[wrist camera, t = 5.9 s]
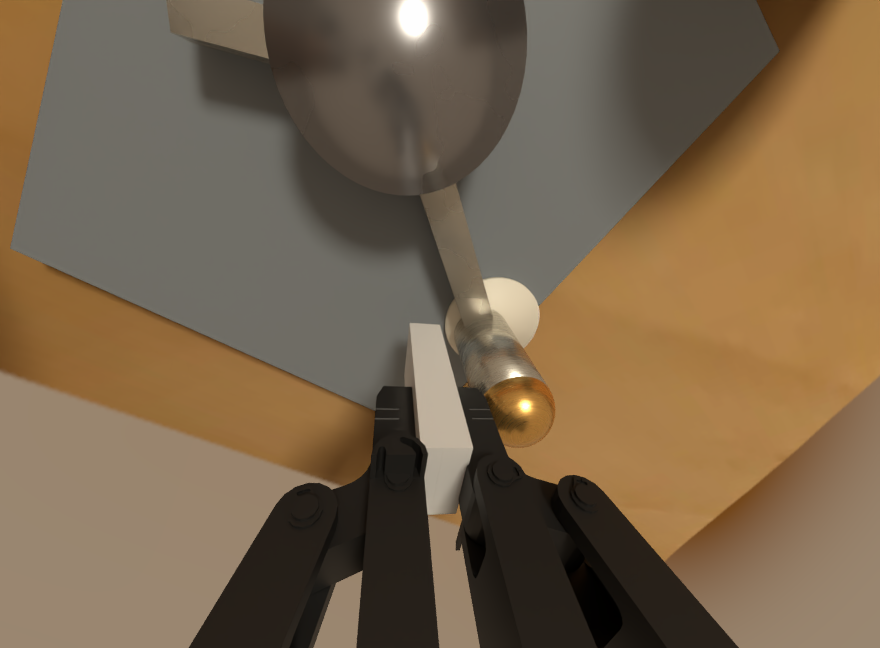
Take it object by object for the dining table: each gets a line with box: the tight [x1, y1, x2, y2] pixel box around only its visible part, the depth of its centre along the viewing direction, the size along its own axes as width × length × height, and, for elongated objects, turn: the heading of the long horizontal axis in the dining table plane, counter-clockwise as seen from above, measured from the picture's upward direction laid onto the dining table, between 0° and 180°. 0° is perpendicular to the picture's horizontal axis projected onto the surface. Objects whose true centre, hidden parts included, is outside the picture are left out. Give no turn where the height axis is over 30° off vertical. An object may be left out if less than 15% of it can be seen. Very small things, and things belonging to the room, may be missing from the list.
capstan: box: [166, 0, 555, 448], centre depth 10 cm, size 16×12×7 cm
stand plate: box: [10, 0, 779, 411], centre depth 13 cm, size 21×24×2 cm
